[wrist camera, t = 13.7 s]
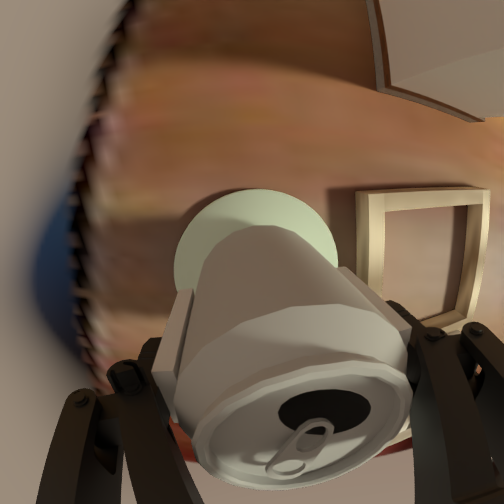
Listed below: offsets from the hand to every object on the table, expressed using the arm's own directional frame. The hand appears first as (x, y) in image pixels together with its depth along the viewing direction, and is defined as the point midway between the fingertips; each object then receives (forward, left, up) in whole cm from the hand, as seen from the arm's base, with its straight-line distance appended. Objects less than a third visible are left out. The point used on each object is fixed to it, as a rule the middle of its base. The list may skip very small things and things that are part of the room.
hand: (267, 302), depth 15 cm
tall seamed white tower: (+17, -16, -5) cm, 24 cm away
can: (0, 0, -3) cm, 3 cm away
